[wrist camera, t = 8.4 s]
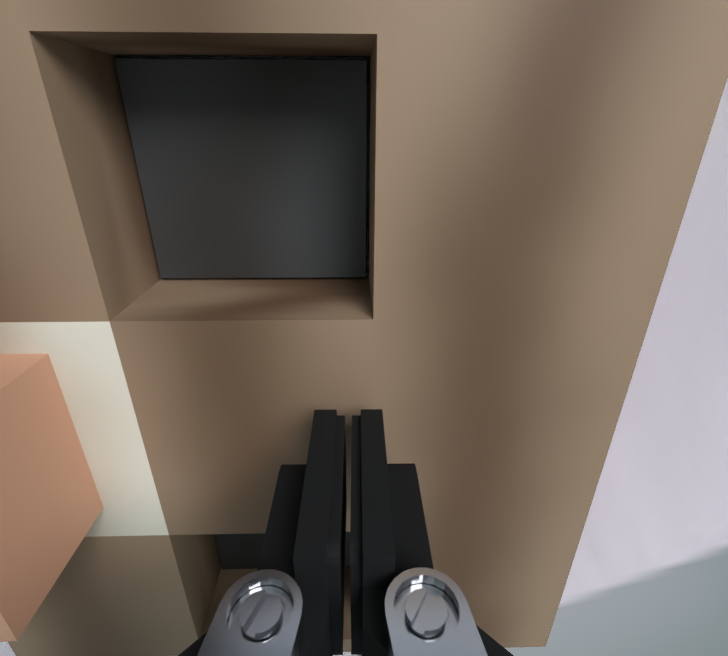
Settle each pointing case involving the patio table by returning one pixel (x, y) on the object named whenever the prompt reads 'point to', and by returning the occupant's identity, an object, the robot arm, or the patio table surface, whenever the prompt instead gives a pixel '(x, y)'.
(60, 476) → the block
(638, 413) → the patio table surface
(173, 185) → the board
